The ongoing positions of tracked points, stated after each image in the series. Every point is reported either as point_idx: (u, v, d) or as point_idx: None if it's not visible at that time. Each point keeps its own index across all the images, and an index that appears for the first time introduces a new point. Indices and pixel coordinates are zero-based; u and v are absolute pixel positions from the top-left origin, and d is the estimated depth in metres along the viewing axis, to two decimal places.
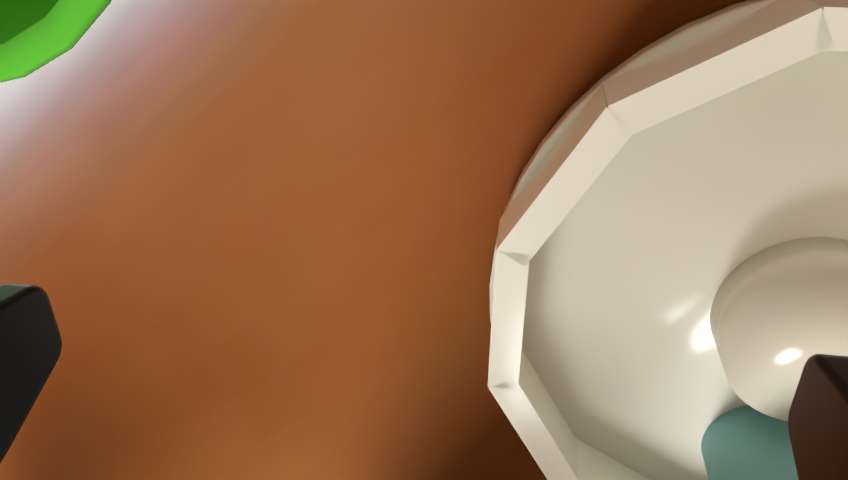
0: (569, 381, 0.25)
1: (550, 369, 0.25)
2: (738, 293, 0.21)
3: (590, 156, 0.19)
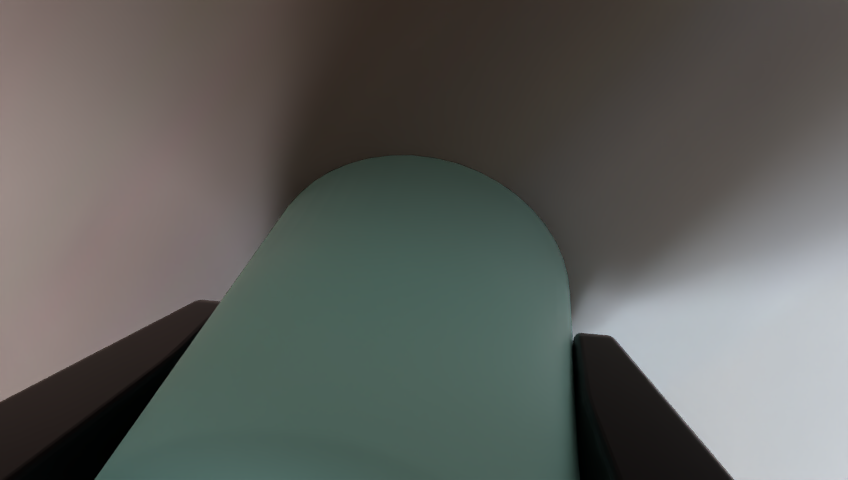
0: None
1: None
2: None
3: None
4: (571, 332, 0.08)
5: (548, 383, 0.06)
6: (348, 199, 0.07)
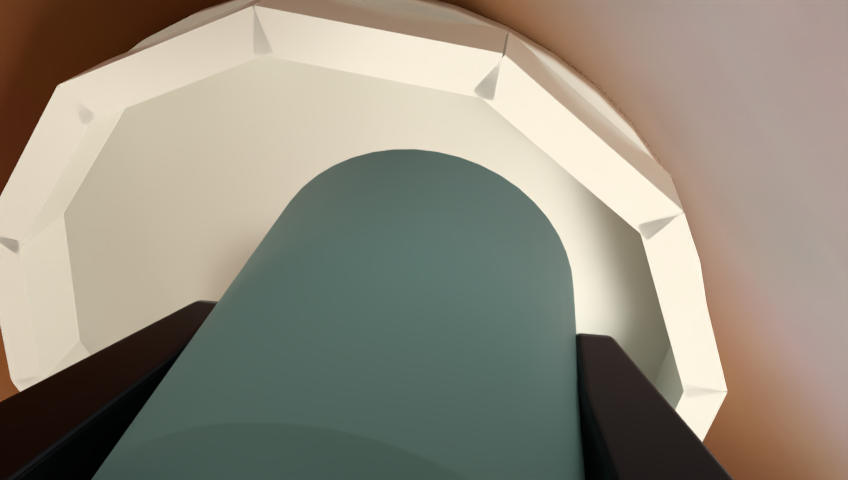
0: None
1: None
2: None
3: None
4: (575, 326, 0.08)
5: (552, 376, 0.06)
6: (350, 192, 0.07)
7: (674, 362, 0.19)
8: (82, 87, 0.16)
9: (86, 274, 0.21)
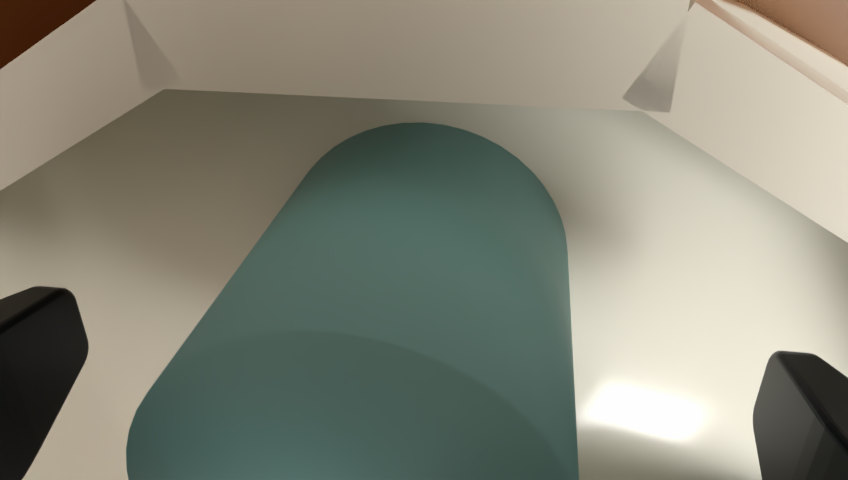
0: None
1: None
2: None
3: None
4: (568, 282, 0.09)
5: (547, 312, 0.07)
6: (366, 158, 0.08)
7: None
8: None
9: None
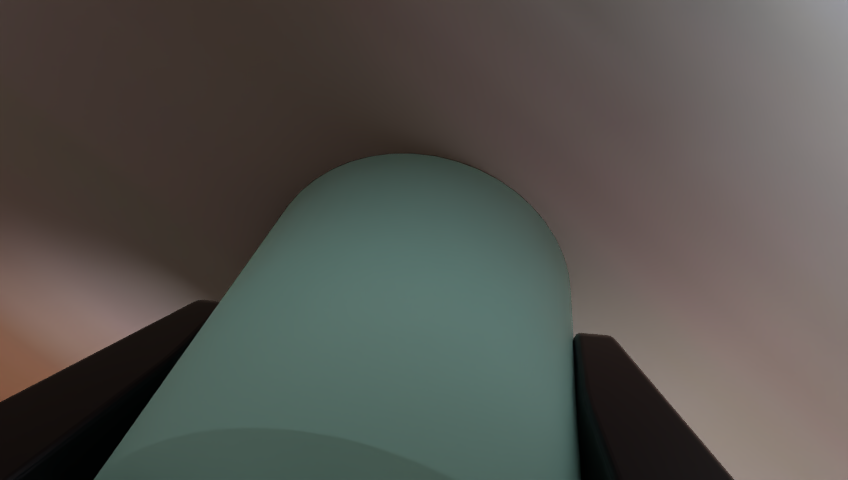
0: None
1: None
2: None
3: None
4: None
5: None
6: None
7: None
8: None
9: None
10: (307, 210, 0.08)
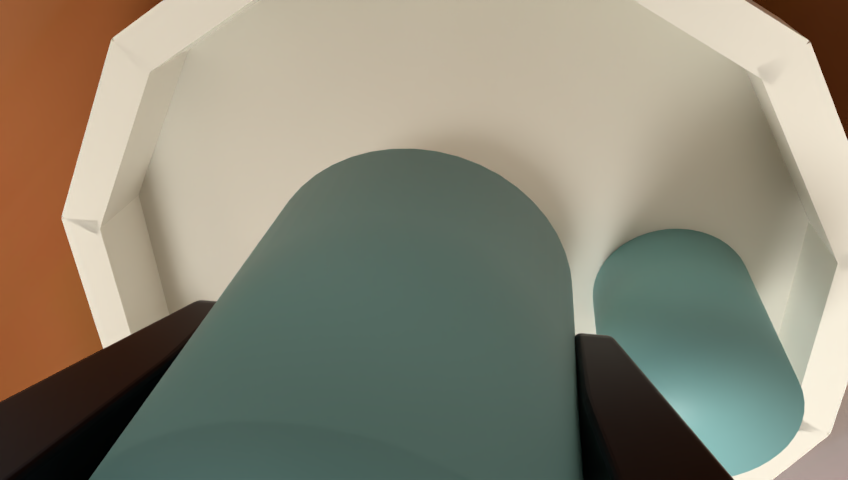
0: None
1: None
2: None
3: (116, 100, 0.16)
4: None
5: None
6: None
7: None
8: (806, 73, 0.14)
9: None
10: (308, 205, 0.07)
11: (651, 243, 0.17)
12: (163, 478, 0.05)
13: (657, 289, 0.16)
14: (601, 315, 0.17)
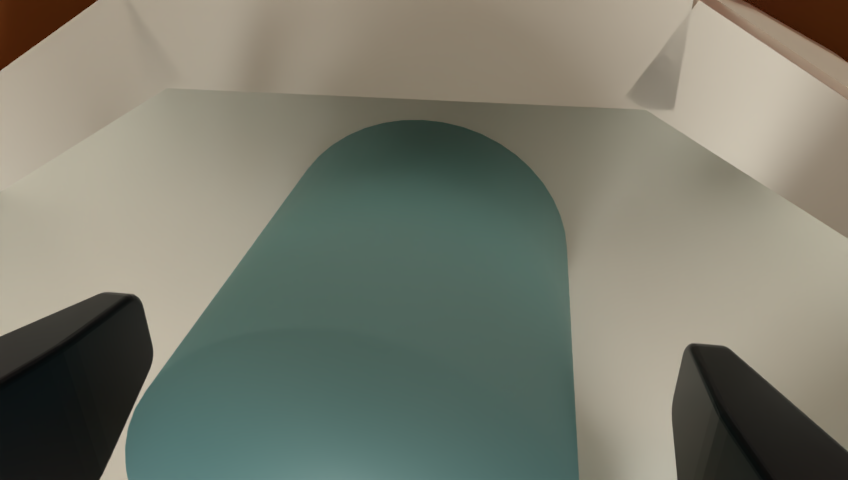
0: None
1: None
2: None
3: None
4: None
5: None
6: None
7: None
8: None
9: None
10: (327, 168, 0.08)
11: None
12: (213, 384, 0.06)
13: None
14: None
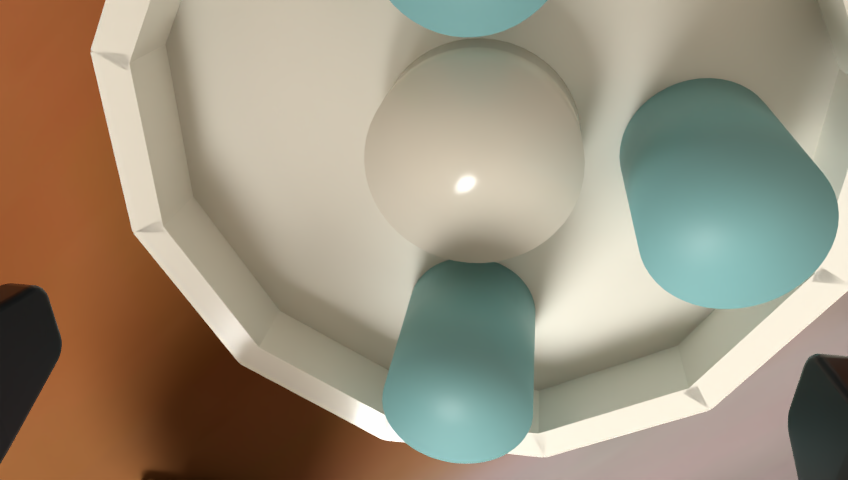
0: (255, 238, 0.22)
1: (231, 224, 0.22)
2: None
3: None
4: None
5: None
6: None
7: (535, 405, 0.23)
8: None
9: None
10: None
11: (682, 89, 0.18)
12: None
13: (692, 117, 0.16)
14: (631, 157, 0.17)
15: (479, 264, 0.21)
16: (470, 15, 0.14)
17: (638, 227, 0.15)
